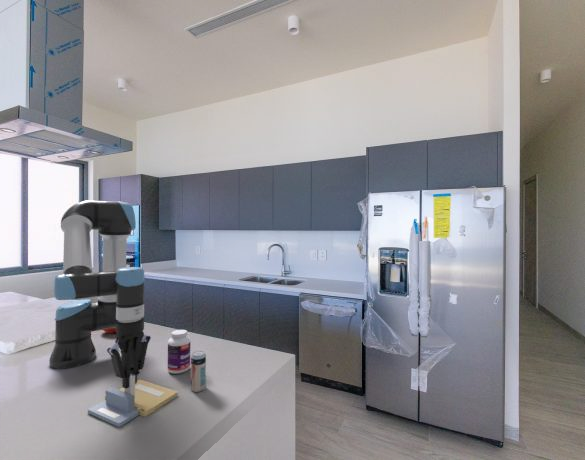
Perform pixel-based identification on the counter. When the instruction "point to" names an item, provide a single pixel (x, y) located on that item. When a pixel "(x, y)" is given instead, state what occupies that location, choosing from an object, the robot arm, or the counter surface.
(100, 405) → the stub
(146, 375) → the counter surface
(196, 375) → the beer can
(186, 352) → the pill bottle
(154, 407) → the tan notebook
